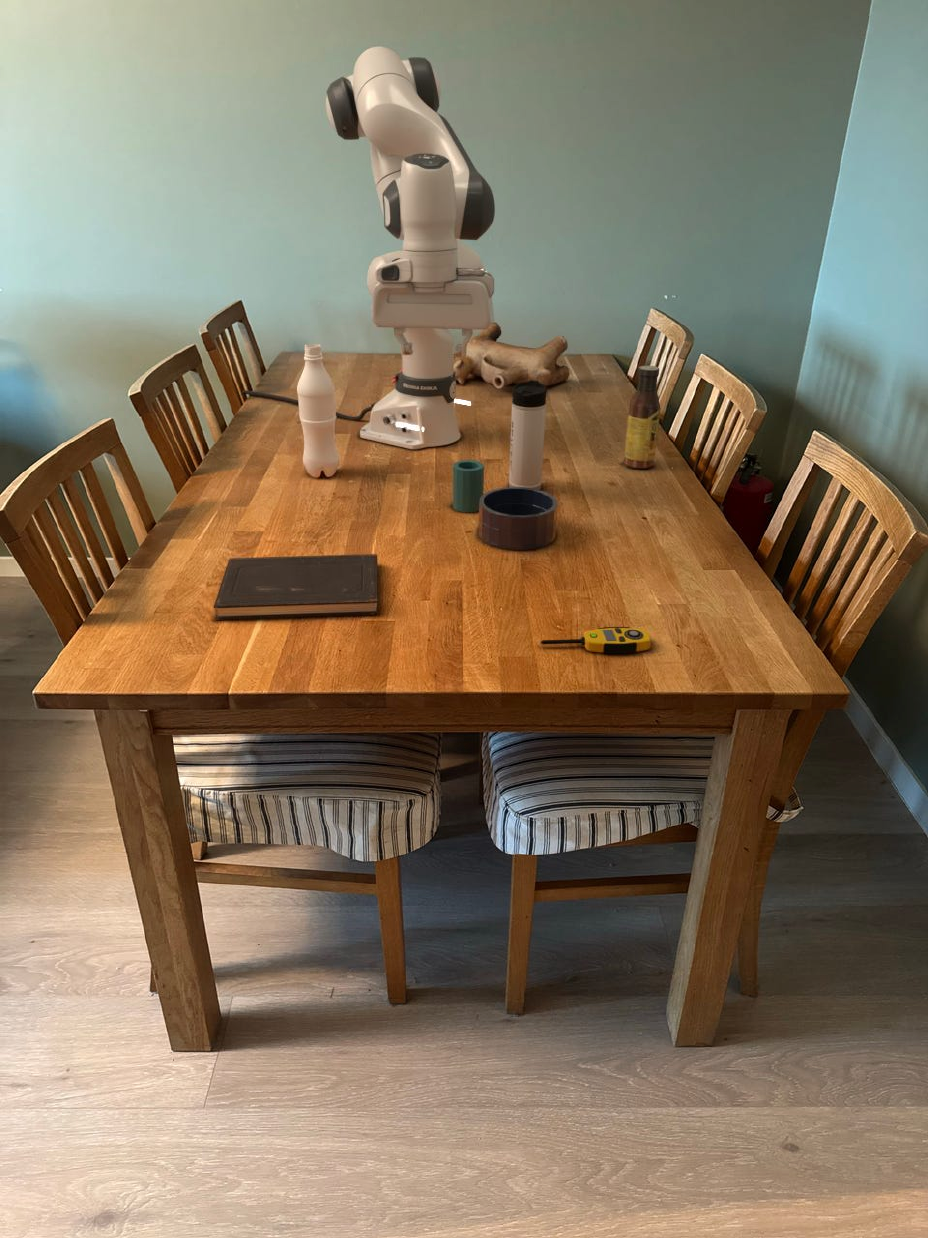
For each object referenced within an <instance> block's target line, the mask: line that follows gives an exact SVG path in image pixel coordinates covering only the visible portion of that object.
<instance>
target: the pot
mask: <svg viewBox="0 0 928 1238" xmlns="http://www.w3.org/2000/svg"><path fill="white" fill-rule="evenodd" d="M558 504H559V503H558V500H557V498H556V497H554V495H552V494H551V493H549V492H547V491H544V490H541V489H540V490H537V489H533V488H526V487H509V486H507V487H499V488H496V489H491V490H489V491H487V492H483V495H482V496H481V497H480V499H479V511H478V536H479V538H480V539H481V540H482V541H483V542H484V543H486V544H488V545H490V546H492V547H494V548H497V549H498V548H499V549H503V550H509V551H530V550H531V551H532V550H536V549H541V548H544V547H545V546H549V545H550V544H552V542H554V540H555V538H556V534H557V521H558V520H557V519H558Z"/></svg>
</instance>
